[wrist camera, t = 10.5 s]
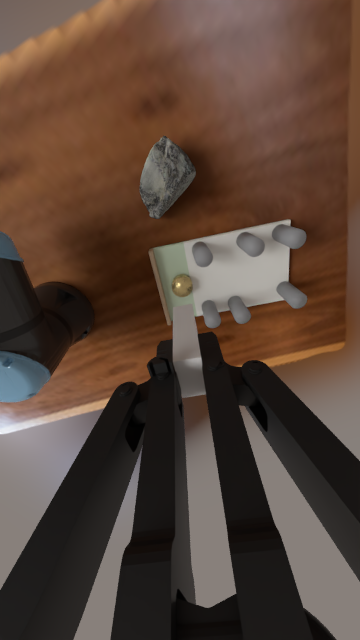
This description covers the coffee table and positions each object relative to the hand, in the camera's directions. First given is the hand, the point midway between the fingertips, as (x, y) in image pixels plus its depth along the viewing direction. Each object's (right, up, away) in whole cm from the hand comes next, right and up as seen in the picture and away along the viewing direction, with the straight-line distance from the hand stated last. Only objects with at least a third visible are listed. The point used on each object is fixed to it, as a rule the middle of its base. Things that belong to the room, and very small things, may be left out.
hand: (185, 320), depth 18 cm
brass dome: (0, +8, +31) cm, 32 cm away
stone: (-3, +25, +23) cm, 35 cm away
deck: (+9, +10, +32) cm, 34 cm away
